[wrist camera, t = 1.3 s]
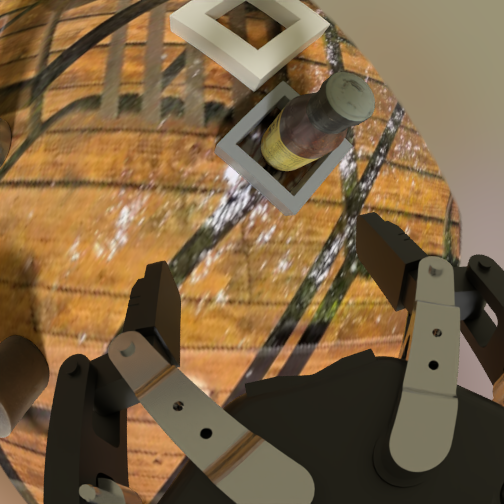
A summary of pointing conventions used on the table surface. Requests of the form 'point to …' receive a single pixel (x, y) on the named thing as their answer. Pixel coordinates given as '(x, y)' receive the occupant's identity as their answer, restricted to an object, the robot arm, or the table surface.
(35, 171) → the table surface
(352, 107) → the sauce bottle
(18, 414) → the pillar candle
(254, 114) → the frame
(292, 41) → the socket collar
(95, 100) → the table surface
